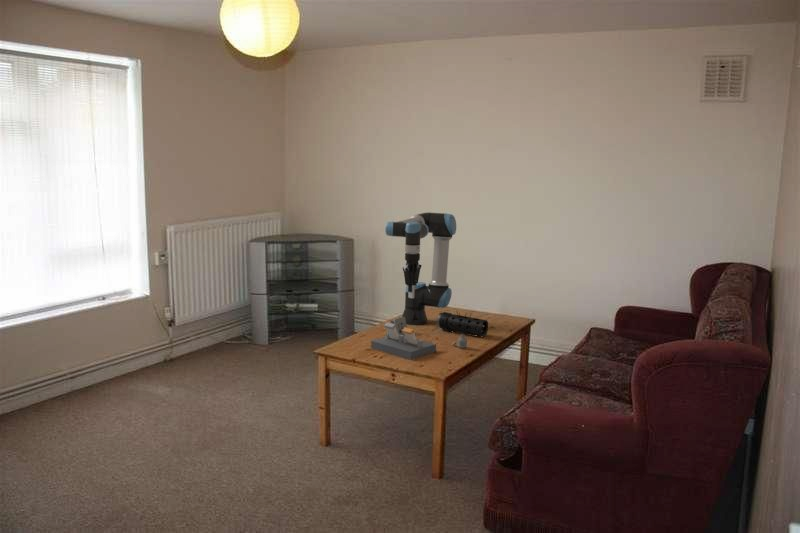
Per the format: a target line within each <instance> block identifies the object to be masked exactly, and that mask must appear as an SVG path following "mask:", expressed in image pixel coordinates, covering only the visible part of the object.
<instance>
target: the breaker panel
mask: <svg viewBox="0 0 800 533" xmlns="http://www.w3.org/2000/svg"><path fill="white" fill-rule="evenodd" d="M398 335H399V340H396V339H392V338H389V334H388V332H387V331H386V332H385V336H384V337H380V338H376V339H373V340H371V341H370V348H372V350H375V349H376V350H375V351H378V350H379V352H381V351H383V352H382V353H385V352H386V354H388V353H389V355H392V356H395V357H398V358H402V359H406V360H409V361H412V360H416V359H417V358H421V357H424V356H427V355H429V354H433V353H435V352H437V343H434V342H430V341H428V340H427V341H426V340H423V339H419V338H416V339H417V341H418V345H414V344H410V343H407V340H406V337H405V335H404V334H403V335H401V334H398Z"/></svg>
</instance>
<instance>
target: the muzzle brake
mask: <svg viewBox="0 0 800 533" xmlns="http://www.w3.org/2000/svg"><path fill="white" fill-rule="evenodd" d="M458 316H459V314H455V313H454V314H453V313H451V312H446V311H444V312H440V313H439V314H437V317H436V326H437V327H438V328H440V329H442V330H447V331H448V332H450V331H453V332H452V333H455V332H458V333H461V329H460V326H461V327H462V333H461V334H463V330H464V332H465V335H468V334H471V335H470V336H472V335H477V336H483V337H482V338H485V336H486V335H487V334H488V331H489V321H488V320H487V319H482V318H477V317H471V316H466V319H465V315H461V314H460V316H459V319H458ZM469 318H470V319H469ZM460 320H461V324H459V321H460ZM468 320H469V322H468ZM464 323H465V327H464ZM467 323H468V325H467ZM466 326H467V328H466ZM465 329H466V331H465ZM477 336H476V337H477Z"/></svg>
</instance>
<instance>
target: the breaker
mask: <svg viewBox="0 0 800 533" xmlns="http://www.w3.org/2000/svg"><path fill="white" fill-rule="evenodd" d="M383 326H384V328H385V329H386V332H388V334H389V338H392V339H396V340H399V335H398V332H397V330H396V325H395V324H392V323H391V322H386V323H385V324H384V325H383Z"/></svg>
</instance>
